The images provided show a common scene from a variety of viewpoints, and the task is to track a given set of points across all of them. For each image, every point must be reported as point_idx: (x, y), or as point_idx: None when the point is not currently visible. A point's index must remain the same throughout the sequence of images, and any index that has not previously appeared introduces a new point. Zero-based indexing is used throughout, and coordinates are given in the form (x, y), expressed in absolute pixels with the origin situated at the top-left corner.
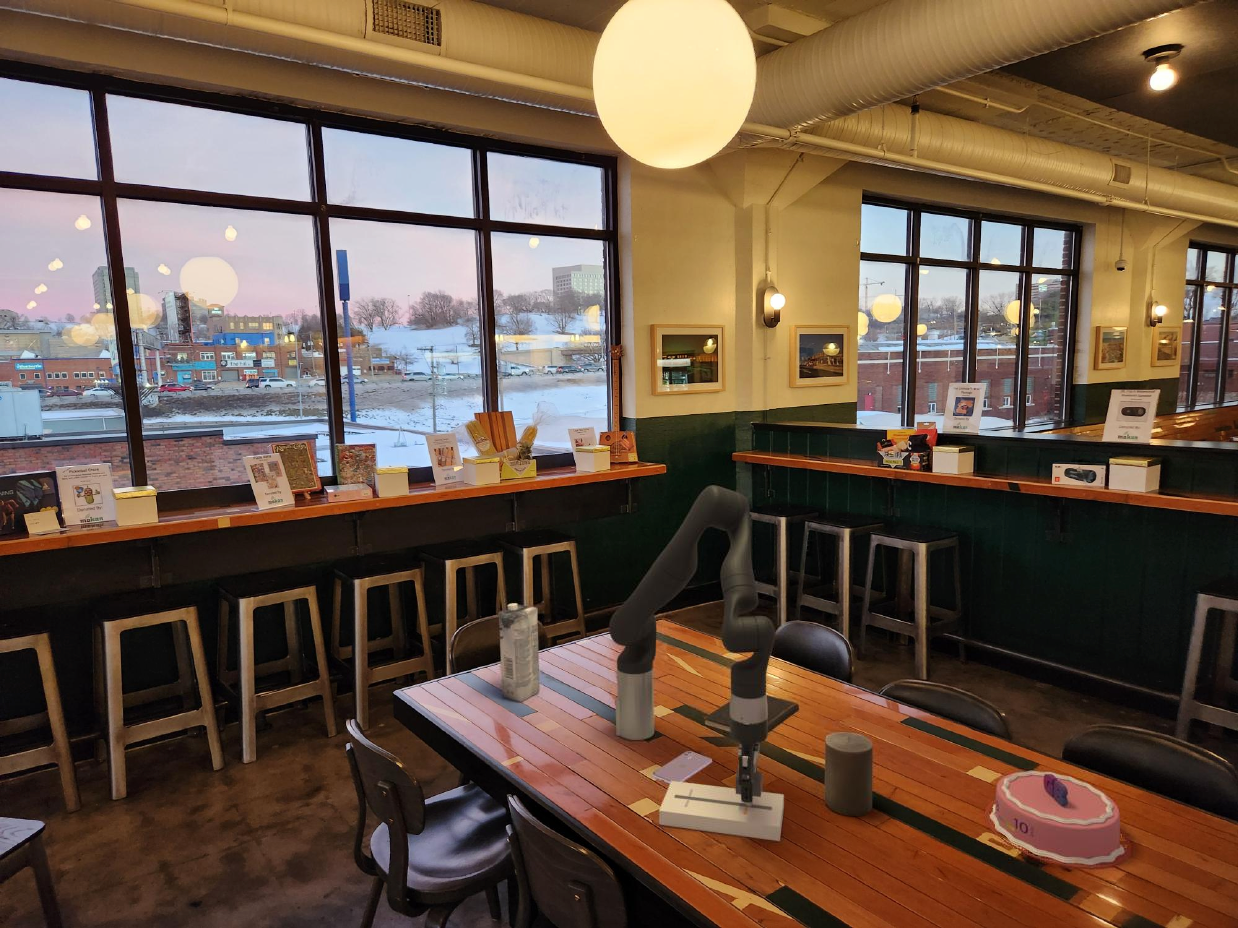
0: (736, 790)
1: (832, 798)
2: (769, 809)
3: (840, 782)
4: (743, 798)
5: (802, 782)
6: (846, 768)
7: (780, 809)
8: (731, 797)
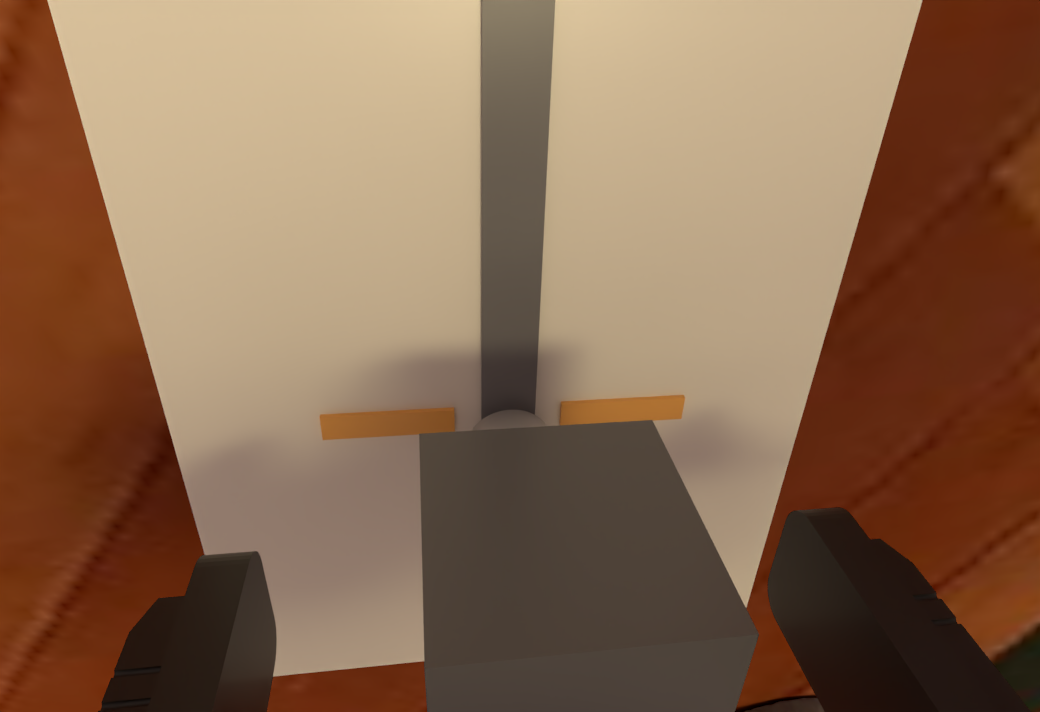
0: (423, 476)
1: None
2: None
3: None
4: (133, 639)
5: (1012, 584)
6: None
7: None
8: (648, 238)
